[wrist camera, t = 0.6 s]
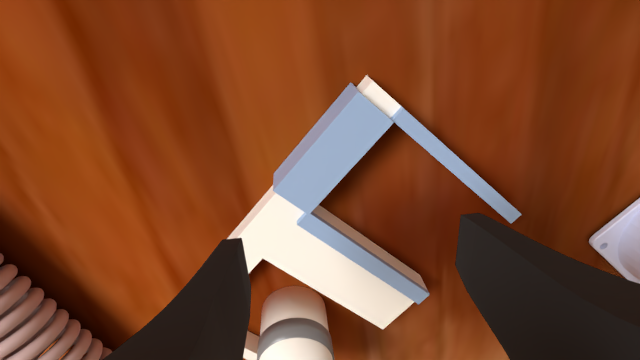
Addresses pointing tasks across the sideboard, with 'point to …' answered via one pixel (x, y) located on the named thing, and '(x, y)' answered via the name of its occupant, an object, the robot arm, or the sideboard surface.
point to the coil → (39, 324)
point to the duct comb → (329, 231)
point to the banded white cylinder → (294, 326)
